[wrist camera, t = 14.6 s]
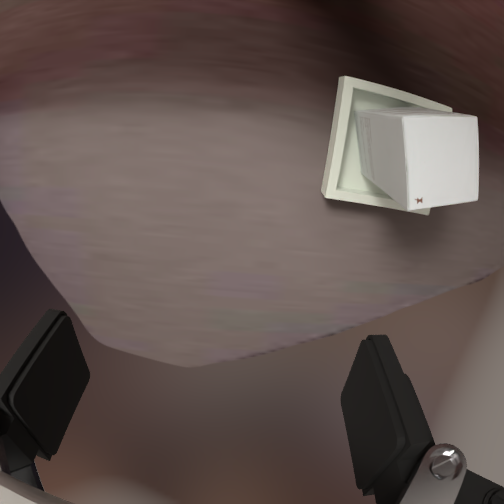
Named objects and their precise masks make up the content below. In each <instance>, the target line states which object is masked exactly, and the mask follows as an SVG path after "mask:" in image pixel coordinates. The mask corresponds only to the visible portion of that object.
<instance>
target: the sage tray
mask: <svg viewBox="0 0 504 504" xmlns="http://www.w3.org/2000/svg"><path fill="white" fill-rule="evenodd" d="M395 107H420V108H427V109H434V110H440V111H447V112H452V108H450V107H448V106H445V105H442V104H440V103H437V102H434V101H431V100H428V99H426V98H423V97H420V96H417V95H414V94H410V93H407V92H404V91H401V90H398V89H394V88H391V87H387V86H384V85H380V84H376V83H373V82H369V81H365V80H361V79H357V78H352V77H348V76H342V77H339V81H338V88H337V96H336V103H335V109H334V116H333V123H332V129H331V136H330V142H329V148H328V154H327V160H326V166H325V171H324V177H323V182H322V188H321V192H322V194H323V195H324V197H325V198H330V199H337V200H343V201H350V202H356V203H362V204H368V205H374V206H380V207H386V208H391V209H397V210H403V211H407V210H406V209H404V208H403V207H402V206H401V205H400V204H399V203H397V202H396V201H395V200H394V199H393V198H391V197H390V196H389V195H388V194H387V193H385V192H384V191H383V190H382V189H380V188H379V187H378V186H377V185H376V184H374V183H373V182H372V181H370V180H369V179H368V178H367V177H365V176H364V175H363V174H361V166H360V157H359V149H358V141H357V133H356V126H355V118H354V111H357V110H367V109H379V108H395ZM409 212H413V213H418V214H424V215H429V212H430V208H426V209H420V210H414V211H409Z"/></svg>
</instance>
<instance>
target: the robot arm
mask: <svg viewBox="0 0 504 504" xmlns="http://www.w3.org/2000/svg"><path fill="white" fill-rule="evenodd" d="M89 379H90V372H89V369H88V366H87V364H86V361H85V359H84V356H83V353H82V351H81V348H80V345H79V342H78V339H77V336H76V334H75V331H74V328H73V325H72V321H71V319H70V317H68V316H67V314H66V313H65V312H64V311H59V310H54V309H49V310H48V311H47V312H46V313H45V314H44V315H43V317H42V318H41V319H40V320H39V322H38V323H37V325H36V326H35V327H34V328H33V330H32V331H31V332H30V333H29V335H28V336H27V337H26V339H25V340H24V342H23V343H22V344H21V346H20V347H19V348H18V350H17V351H16V353H15V354H14V355H13V357H12V358H11V360H10V361H9V362H8V364H7V366H6V367H5V368H4V370H3V371H2V373H1V374H0V504H74V503H71V502H68V501H66V500H63V499H61V498H58V497H56V496H53V495H51V494H49V493H46V492H45V491H44V488H43V486H42V483H41V480H40V477H39V474H38V471H37V468H36V465H35V462H34V459H35V457H36V455H37V456H39V457H41V458H44V459H46V460H49V461H50V459H51V456H52V455H55V454H56V453H57V451H58V448H59V446H60V444H61V441H62V439H63V436H64V434H65V432H66V430H67V427H68V425H69V423H70V420H71V418H72V416H73V414H74V412H75V409H76V407H77V405H78V403H79V401H80V398H81V396H82V394H83V392H84V390H85V388H86V386H87V384H88V382H89ZM341 406H342V411H343V415H344V420H345V426H346V430H347V435H348V441H349V446H350V451H351V457H352V462H353V468H354V474H355V479H356V485H357V487H358V489H362V491H363V496H367V495H373V494H375V499H376V503H377V504H504V487H502V486H500V485H498V484H496V483H494V482H492V481H490V480H488V479H485V478H483V477H482V476H479V475H477V474H475V473H473V472H472V471H469V470H468V469H467V462H466V458H465V456H464V454H463V453H462V451H461V450H460V449H459V448H457V447H456V446H454V445H451V444H447V443H440V444H437V445H435V443H434V440H433V437H432V434H431V431H430V429H429V426H428V423H427V421H426V418H425V416H424V413H423V410H422V408H421V405H420V403H419V400H418V398H417V395H416V393H415V390H414V388H413V386H412V383H411V381H410V379H409V377H408V376H407V375H406V374H404V373H403V371H402V368H401V366H400V363H399V361H398V359H397V356H396V354H395V352H394V349H393V347H392V345H391V343H390V340H389V338H388V337H387V335H368V337H367V338H366V340H362V341H361V343H360V346H359V349H358V352H357V354H356V357H355V360H354V363H353V365H352V368H351V371H350V373H349V376H348V379H347V381H346V384H345V386H344V389H343V391H342V394H341Z"/></svg>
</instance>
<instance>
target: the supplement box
mask: <svg viewBox="0 0 504 504" xmlns="http://www.w3.org/2000/svg"><path fill="white" fill-rule="evenodd" d="M354 118H355V126H356V133H357V141H358V149H359V157H360V166H361V174H363V175H364V176H365V177H367V178H368V179H369V180H370V181H372V182H373V183H374V184H376V185H377V186H378V187H379V188H380V189H382V190H383V191H384V192H385V193H387V194H388V195H389V196H390V197H391V198H393V199H394V200H395V201H396V202H397V203H399V204H400V205H401V206H402V207H403V208H404V209H406V210H407V211H408V212H409V211H414V210H420V209H426V208H431V207H438V206H445V205H452V204H458V203H465V202H472V201H477V200H478V188H479V139H478V119H477V117H476V116H472V115H466V114H460V113H454V112H447V111H440V110H434V109H427V108H420V107H395V108H379V109H367V110H357V111H354Z"/></svg>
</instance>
